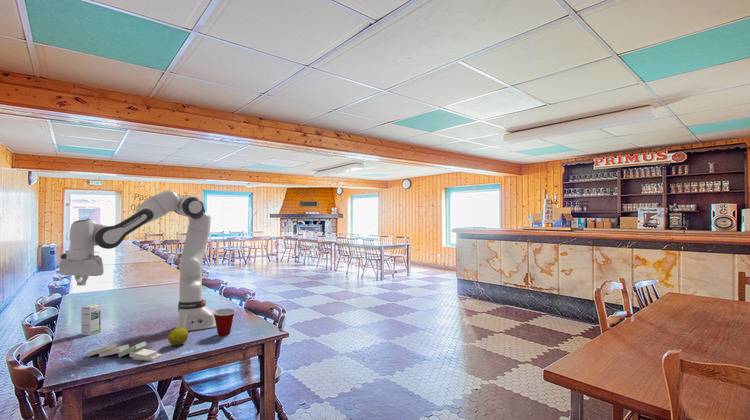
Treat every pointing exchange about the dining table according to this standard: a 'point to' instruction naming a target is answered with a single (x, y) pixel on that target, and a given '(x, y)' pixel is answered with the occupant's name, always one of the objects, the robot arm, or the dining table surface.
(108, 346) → the domino
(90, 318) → the syrup box
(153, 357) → the domino
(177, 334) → the lemon
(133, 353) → the domino
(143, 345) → the domino
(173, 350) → the dining table surface
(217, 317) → the plastic cup
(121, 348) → the domino
